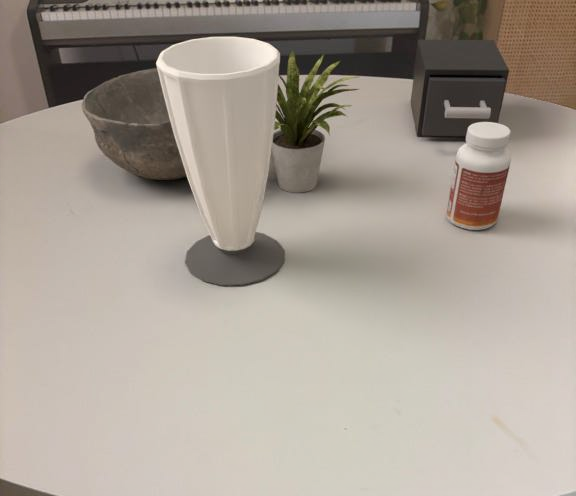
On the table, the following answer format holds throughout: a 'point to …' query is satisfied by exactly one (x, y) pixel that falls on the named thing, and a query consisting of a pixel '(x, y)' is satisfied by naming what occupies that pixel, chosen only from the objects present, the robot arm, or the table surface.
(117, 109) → the bowl
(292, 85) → the house plant
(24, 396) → the table surface
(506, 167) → the pill bottle
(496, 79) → the drawer
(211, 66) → the cup
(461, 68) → the cabinet
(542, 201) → the table surface
